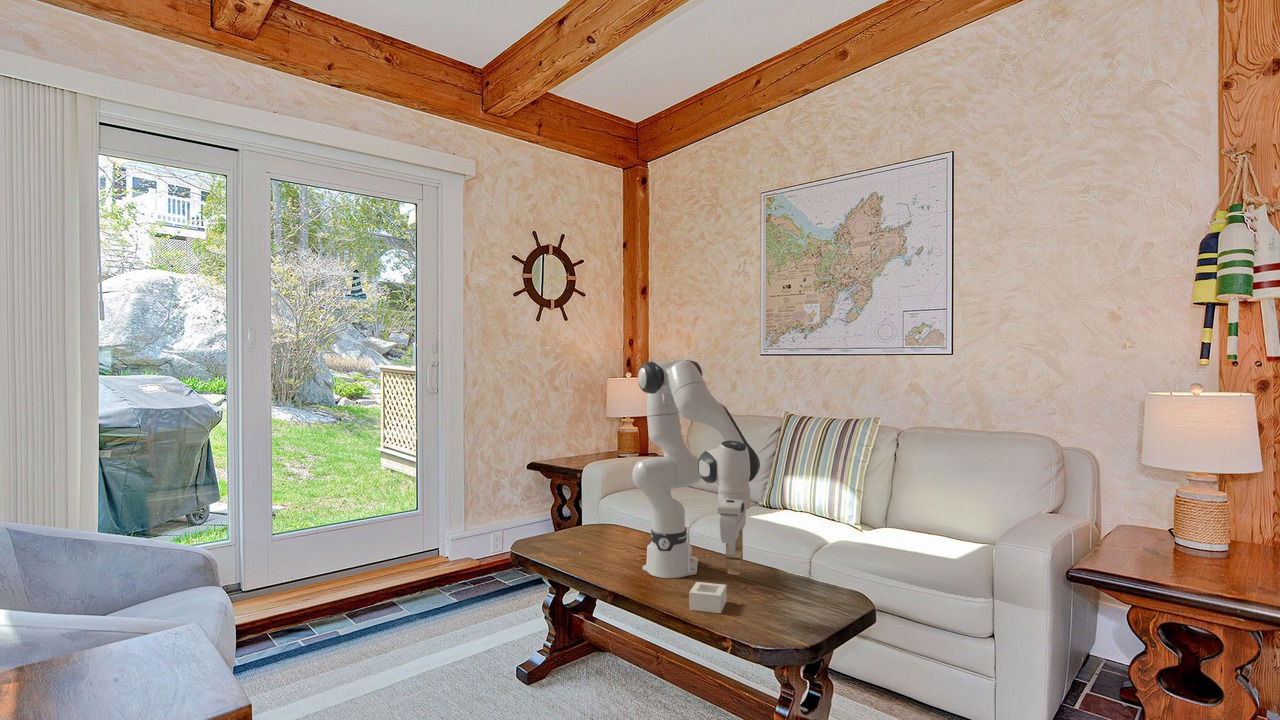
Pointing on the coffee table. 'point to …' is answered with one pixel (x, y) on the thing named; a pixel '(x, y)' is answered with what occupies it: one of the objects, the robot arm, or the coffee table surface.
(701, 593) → the socket board
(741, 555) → the oak peg
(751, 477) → the robot arm
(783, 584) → the coffee table surface
